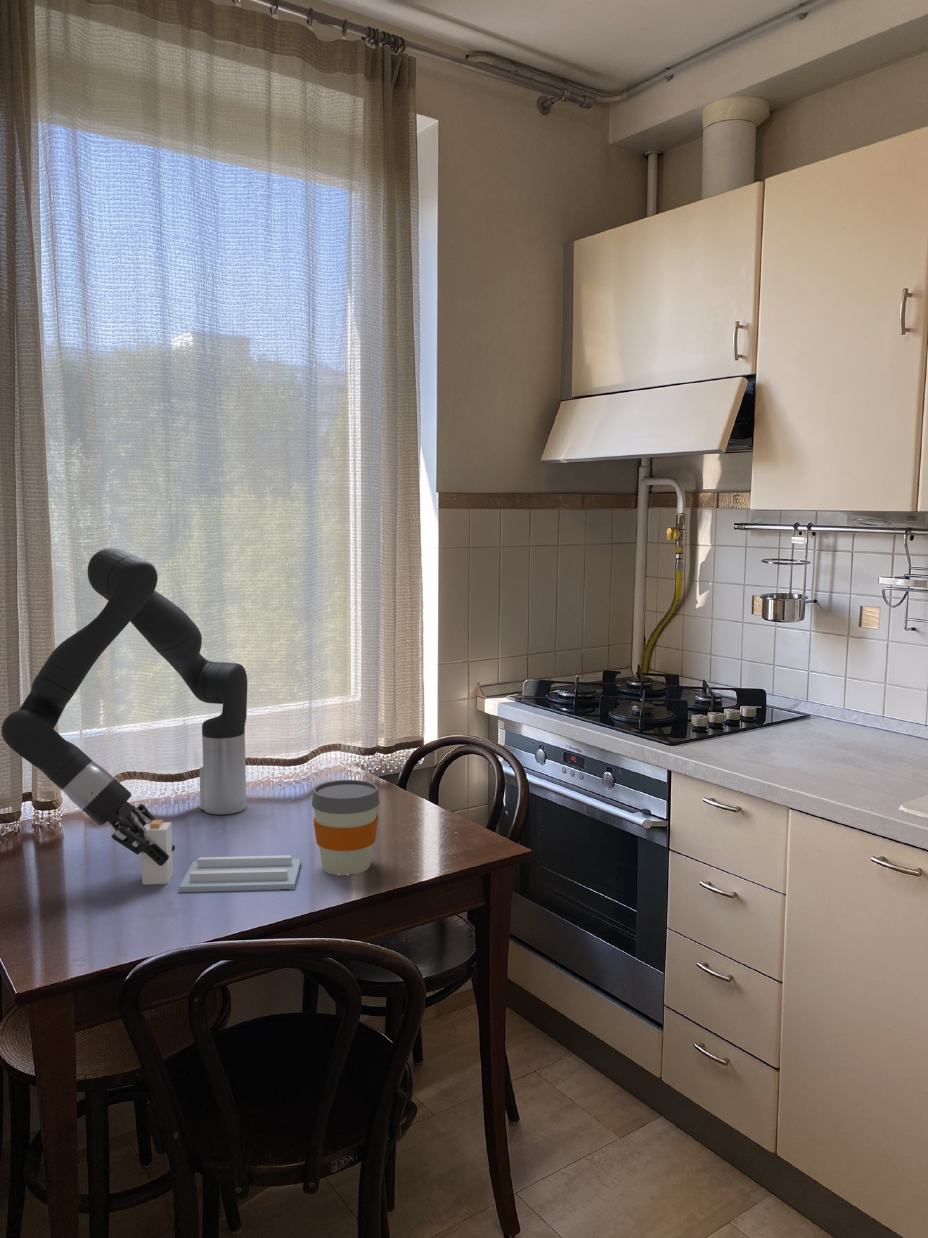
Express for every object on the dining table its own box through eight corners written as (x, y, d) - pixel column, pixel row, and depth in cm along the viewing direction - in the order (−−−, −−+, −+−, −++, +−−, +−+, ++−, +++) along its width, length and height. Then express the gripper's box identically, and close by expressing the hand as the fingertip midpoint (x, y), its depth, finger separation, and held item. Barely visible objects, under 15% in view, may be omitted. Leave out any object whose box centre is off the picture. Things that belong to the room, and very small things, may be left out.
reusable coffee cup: (391, 870, 171) (391, 792, 170) (329, 884, 165) (328, 803, 163) (361, 849, 182) (361, 775, 180) (302, 862, 175) (301, 785, 174)
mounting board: (178, 892, 161) (178, 878, 161) (193, 866, 173) (192, 853, 172) (294, 889, 162) (294, 875, 162) (300, 863, 174) (300, 851, 174)
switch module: (142, 884, 164) (140, 825, 163) (148, 875, 168) (146, 818, 167) (167, 883, 165) (166, 825, 163) (173, 875, 168) (171, 818, 167)
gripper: (99, 789, 157) (174, 856, 159) (123, 767, 171) (191, 829, 173) (68, 820, 157) (143, 887, 159) (95, 795, 171) (163, 857, 173)
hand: (168, 856), depth 166 cm, fingers closed on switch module, 4 cm apart
